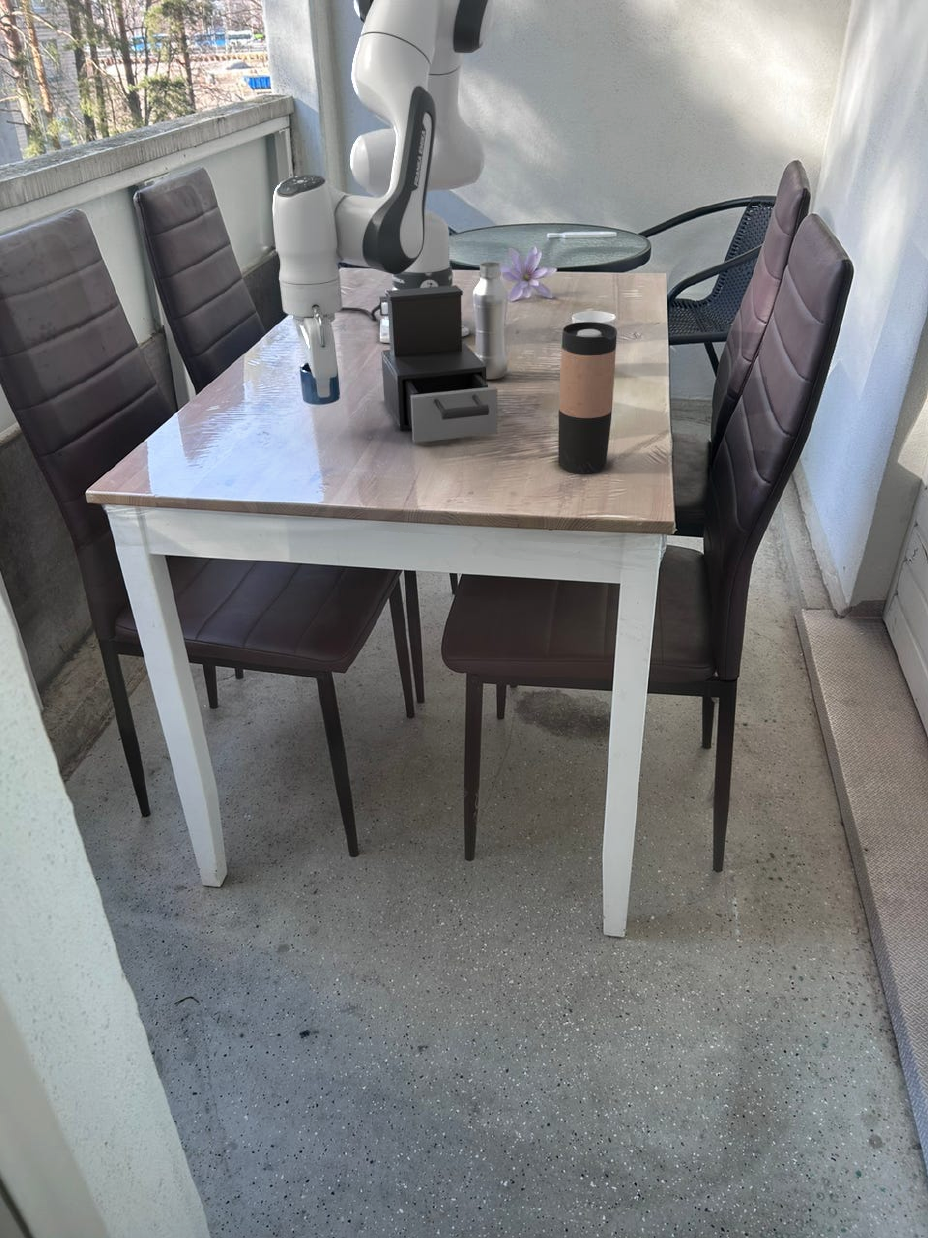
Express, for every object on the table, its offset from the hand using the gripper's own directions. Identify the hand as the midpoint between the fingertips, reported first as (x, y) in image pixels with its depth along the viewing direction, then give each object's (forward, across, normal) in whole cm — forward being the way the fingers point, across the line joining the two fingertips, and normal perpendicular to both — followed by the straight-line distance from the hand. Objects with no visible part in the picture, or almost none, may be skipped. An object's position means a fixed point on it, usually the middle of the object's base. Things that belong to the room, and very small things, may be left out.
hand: (320, 387), depth 148 cm
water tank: (-1, +10, -19) cm, 22 cm away
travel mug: (+8, -22, -35) cm, 43 cm away
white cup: (+8, +18, -52) cm, 56 cm away
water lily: (+9, +73, -57) cm, 93 cm away
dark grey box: (+8, +6, -19) cm, 22 cm away
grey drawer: (+7, -6, -19) cm, 21 cm away
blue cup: (+2, 0, 0) cm, 2 cm away
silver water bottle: (+8, +20, -33) cm, 39 cm away
